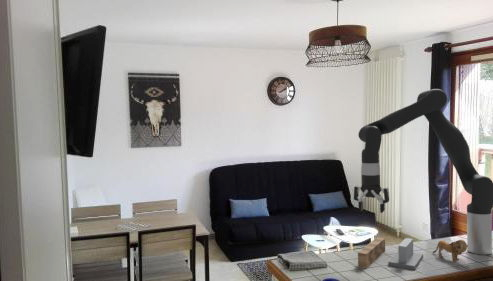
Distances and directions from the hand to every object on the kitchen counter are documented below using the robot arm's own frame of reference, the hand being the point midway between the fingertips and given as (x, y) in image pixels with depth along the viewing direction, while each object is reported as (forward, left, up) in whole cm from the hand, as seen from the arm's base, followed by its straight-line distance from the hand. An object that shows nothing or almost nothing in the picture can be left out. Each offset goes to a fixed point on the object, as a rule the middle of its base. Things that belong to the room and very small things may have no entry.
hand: (371, 211), depth 166 cm
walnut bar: (0, 0, -20) cm, 21 cm away
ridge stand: (-3, +13, -20) cm, 24 cm away
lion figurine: (-15, +28, -20) cm, 38 cm away
